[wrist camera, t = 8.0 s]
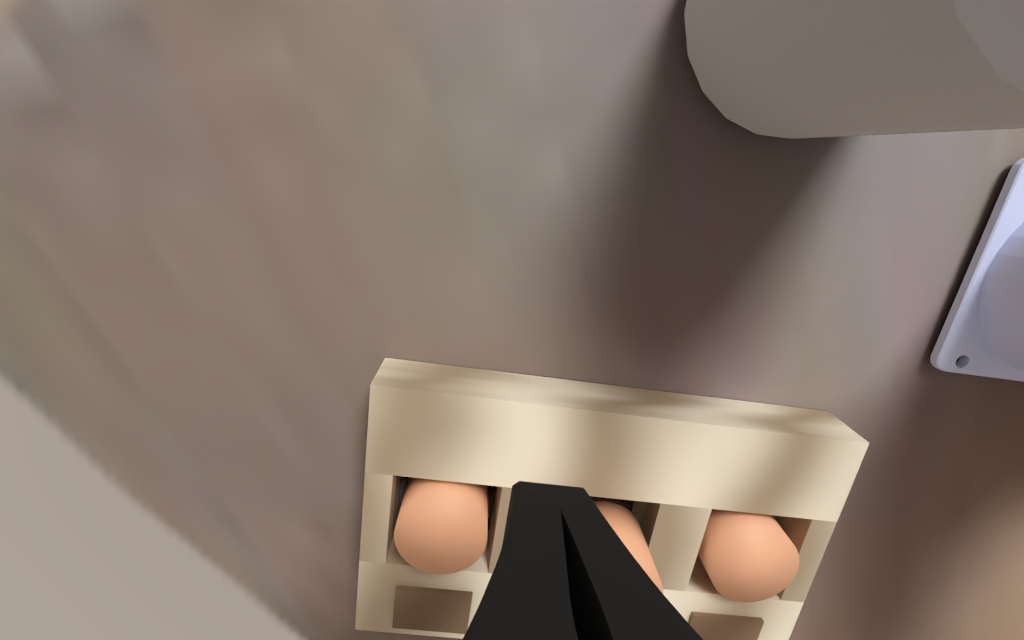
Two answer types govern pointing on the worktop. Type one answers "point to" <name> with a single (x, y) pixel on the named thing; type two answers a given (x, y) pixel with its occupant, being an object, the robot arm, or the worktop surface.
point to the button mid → (630, 536)
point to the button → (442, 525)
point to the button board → (596, 483)
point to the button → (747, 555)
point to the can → (860, 64)
